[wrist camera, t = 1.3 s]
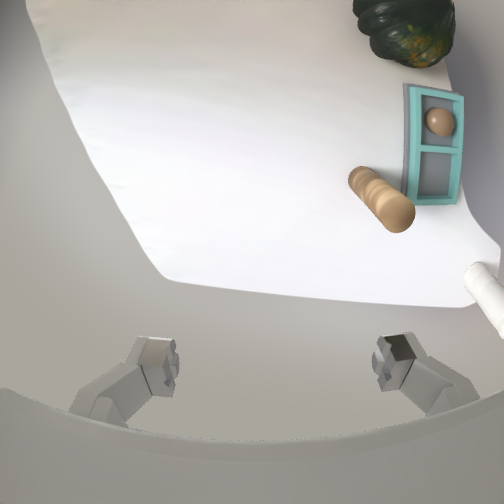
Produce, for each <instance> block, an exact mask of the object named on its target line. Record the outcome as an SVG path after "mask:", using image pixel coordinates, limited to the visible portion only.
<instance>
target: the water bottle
mask: <svg viewBox="0 0 504 504" xmlns="http://www.w3.org/2000/svg"><path fill="white" fill-rule="evenodd" d="M462 283H463V286H464V287H465V288H466V290H467V291H468V292H469V293H470V294H471V295H472V297H473V299H474V300H475V301H476V302H477V303H478V304H479V305H480V307H481V309H482V310H483V312H484V313H485V315H486V316H487V317H488V319H489V320H490V322H491V323H492V324H493V326H494V327H495V328H496V329H497V331H498V332H499V335H500V336H501V338H502V339H504V287H503V286H502V285H501V284H500V283H499V282H498V281H497V279H496V278H495V277H494V276H493V275H492V274H491V273H490V272H489V271H488V269H487V268H486V267H485V266H484V265H483V264H482V263H480V262H476V263H474V264H472V265H470V266H469V267H468V268H467V270H466V271H465V273H464V275H463V279H462Z"/></svg>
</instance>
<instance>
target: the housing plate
mask: <svg viewBox="0 0 504 504" xmlns="http://www.w3.org/2000/svg"><path fill="white" fill-rule="evenodd" d="M403 93H404V159H403V177H402V191H401V193H402V194H403V195H404V196H406V197H407V198H408V199H409V200H410V201H411V202H412V203H413V204H414V205H448V204H456V202H457V196H458V189H459V181H460V173H461V162H462V150H463V131H464V96H460V94H459V93H457V92H452V91H448V90H443V89H438V88H432V87H427V86H421V85H414V84H407V83H403Z"/></svg>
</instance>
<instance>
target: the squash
mask: <svg viewBox="0 0 504 504" xmlns="http://www.w3.org/2000/svg"><path fill="white" fill-rule="evenodd" d="M353 13H354V14H355V15H356V16H357V17H358V18H359V19H358V28H359V30H360V31H361V32H362V33H363V34H365V35H368V36H371V37H370V46H371V49H372V51H373V52H374V53H375V55H377V56H378V57H380V58H383V59H391V60H396V61H398V62H399V63H401V64H403V65H405V66H408V67H412V68H426V67H430V66H432V65H435V64H436V63H438V62H439V61H440V60H441V59H442V58H443V57H444V56H446V55H447V54H448V53H449V52H450V50H451V48H452V46H453V37H454V32H455V8H454V3H453V2H452V1H451V0H354V1H353Z"/></svg>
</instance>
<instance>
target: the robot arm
mask: <svg viewBox="0 0 504 504" xmlns="http://www.w3.org/2000/svg"><path fill="white" fill-rule="evenodd" d="M377 345H378V348H377V349H376V350H374V353H373V356H372V367H373V370H374V372H375V373H376V374H377V375H379V377H378V380H377V381H378V383H379V386H380V388H381V391H382V392H384V391H391V390H397V389H400V391H401V392H402V393H403V394H404V395H406V396H407V397H408V398H409V399H410V400H411V401H412V402H413V403H414V404H416V405H417V406H418V407H419V408H420V409H421V410H422V411H423V412H425V413H426V416H425V417H424V418H422V419H419V420H415V421H411V422H407V423H403V424H399V425H394V426H390V427H385V428H380V429H375V430H371V431H364V432H358V433H352V434H345V435H338V436H330V437H321V438H310V439H296V440H274V441H240V440H238V441H237V440H216V439H203V438H192V437H183V436H174V435H167V434H160V433H154V432H148V431H142V430H137V429H132V428H128V426H127V424H126V423H125V422H126V421H127V420H128V419H129V418H130V417H131V416H132V415H133V414H135V413H136V412H137V411H138V410H139V409H140V408H141V407H142V406H143V405H144V404H145V403H146V402H147V401H148V400H149V399H150V398H151V397H152V395H153V396H162V397H173V393H174V389H175V381H174V379H175V378H176V377H177V376H178V373H179V356H178V354H177V353H176V352H175V349H176V343H175V340H174V339H168V338H158V337H146V336H137V337H136V339H135V341H134V343H133V345H132V347H131V349H130V351H129V354H128V356H127V358H126V360H125V362H124V363H120V364H118V365H117V366H115V367H114V368H112V369H111V370H109V371H108V372H106V373H104V374H103V375H101V376H100V377H98V378H97V379H95V380H94V381H92V382H91V383H89V384H88V385H86V386H84V387H83V388H81V389H80V390H79V391H78V393H77V395H76V397H75V399H74V401H73V403H72V405H71V407H70V409H69V411H68V412H66V411H63V410H60V409H57V408H54V407H51V406H49V405H46V404H43V403H40V402H38V401H35V400H33V399H30V398H28V397H25V396H23V395H20V394H18V393H16V392H14V391H12V390H9V389H7V388H0V504H504V389H502V390H500V391H497V392H495V393H493V394H491V395H488V396H486V397H484V398H480V397H479V395H478V393H477V391H476V390H475V388H474V386H473V384H472V383H471V381H470V380H469V379H468V378H466V377H464V376H463V375H461V374H459V373H458V372H456V371H454V370H453V369H451V368H449V367H448V366H446V365H444V364H443V363H441V362H439V361H438V360H436V359H434V358H433V357H431V356H429V357H428V356H427V354H426V352H425V351H424V349H423V348H422V346H421V344H420V343H419V341H418V339H417V338H416V336H415V334H414V333H413V332H406V333H401V334H392V335H383V336H380V337H379V338H378V341H377Z"/></svg>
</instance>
